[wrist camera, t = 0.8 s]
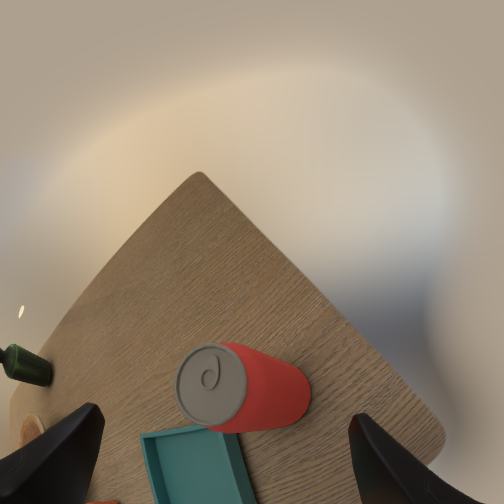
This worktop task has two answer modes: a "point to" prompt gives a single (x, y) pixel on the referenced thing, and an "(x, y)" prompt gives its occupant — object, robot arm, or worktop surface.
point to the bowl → (30, 428)
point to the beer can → (239, 389)
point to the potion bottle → (25, 366)
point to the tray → (196, 467)
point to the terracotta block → (110, 503)
